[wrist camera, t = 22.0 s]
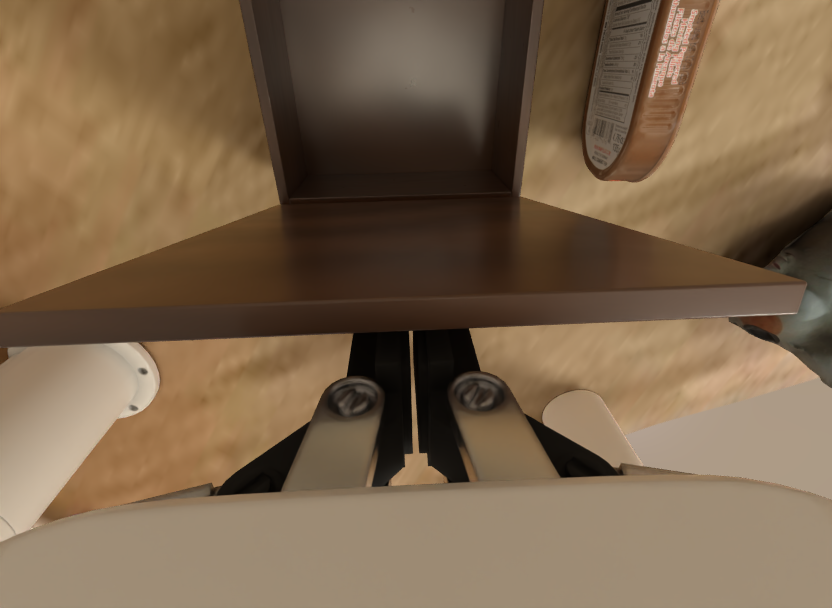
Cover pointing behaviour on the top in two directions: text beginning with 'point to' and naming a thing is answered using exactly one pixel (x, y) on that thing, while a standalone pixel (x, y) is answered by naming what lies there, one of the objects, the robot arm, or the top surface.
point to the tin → (642, 83)
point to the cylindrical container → (590, 426)
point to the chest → (394, 96)
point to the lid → (396, 277)
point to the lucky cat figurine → (803, 301)
